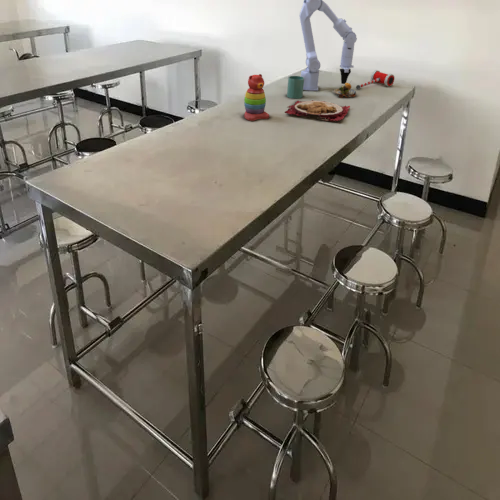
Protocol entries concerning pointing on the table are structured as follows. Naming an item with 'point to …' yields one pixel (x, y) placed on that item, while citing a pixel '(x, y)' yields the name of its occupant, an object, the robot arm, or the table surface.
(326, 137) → the table surface
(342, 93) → the burger
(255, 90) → the stacking bear
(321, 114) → the plate with food
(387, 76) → the toy hammer
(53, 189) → the table surface
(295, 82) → the green cup
